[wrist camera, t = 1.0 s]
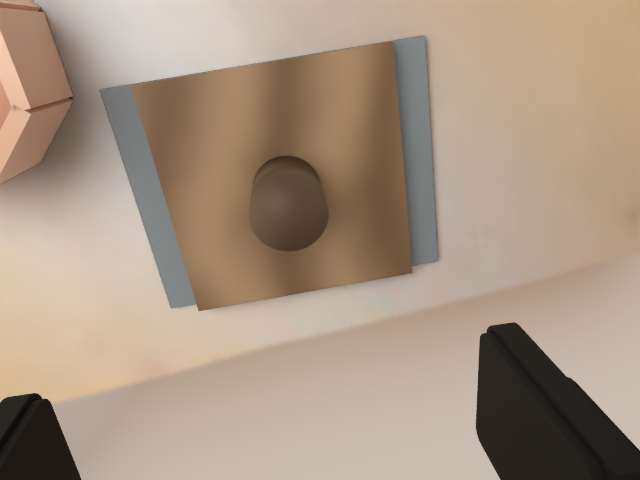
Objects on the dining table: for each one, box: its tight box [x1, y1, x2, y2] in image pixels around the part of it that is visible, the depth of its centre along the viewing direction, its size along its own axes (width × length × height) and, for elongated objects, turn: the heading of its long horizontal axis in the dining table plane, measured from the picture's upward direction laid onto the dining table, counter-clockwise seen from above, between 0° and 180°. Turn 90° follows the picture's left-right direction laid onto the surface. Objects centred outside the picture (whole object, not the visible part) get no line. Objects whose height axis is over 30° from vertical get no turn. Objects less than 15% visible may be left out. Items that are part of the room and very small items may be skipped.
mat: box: [100, 36, 438, 308], centre depth 29 cm, size 18×14×1 cm
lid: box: [131, 42, 412, 311], centre depth 26 cm, size 14×14×5 cm
